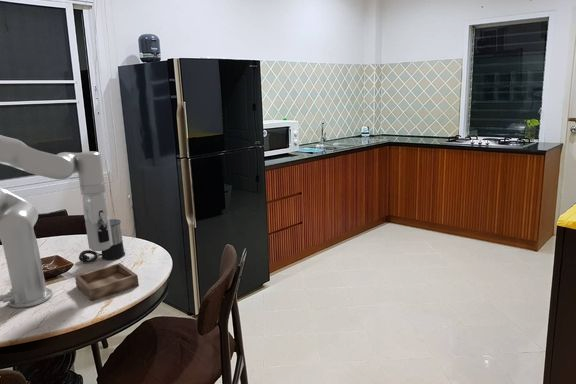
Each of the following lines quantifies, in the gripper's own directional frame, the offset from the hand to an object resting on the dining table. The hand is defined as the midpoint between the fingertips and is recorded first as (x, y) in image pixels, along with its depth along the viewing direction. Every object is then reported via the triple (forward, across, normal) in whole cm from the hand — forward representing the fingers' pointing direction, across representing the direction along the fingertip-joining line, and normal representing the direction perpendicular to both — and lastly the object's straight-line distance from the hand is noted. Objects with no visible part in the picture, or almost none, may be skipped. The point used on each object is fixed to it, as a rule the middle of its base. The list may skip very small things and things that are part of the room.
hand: (99, 238), depth 151 cm
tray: (+18, 0, 0) cm, 18 cm away
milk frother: (+18, -28, +9) cm, 35 cm away
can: (+4, 0, 0) cm, 4 cm away
